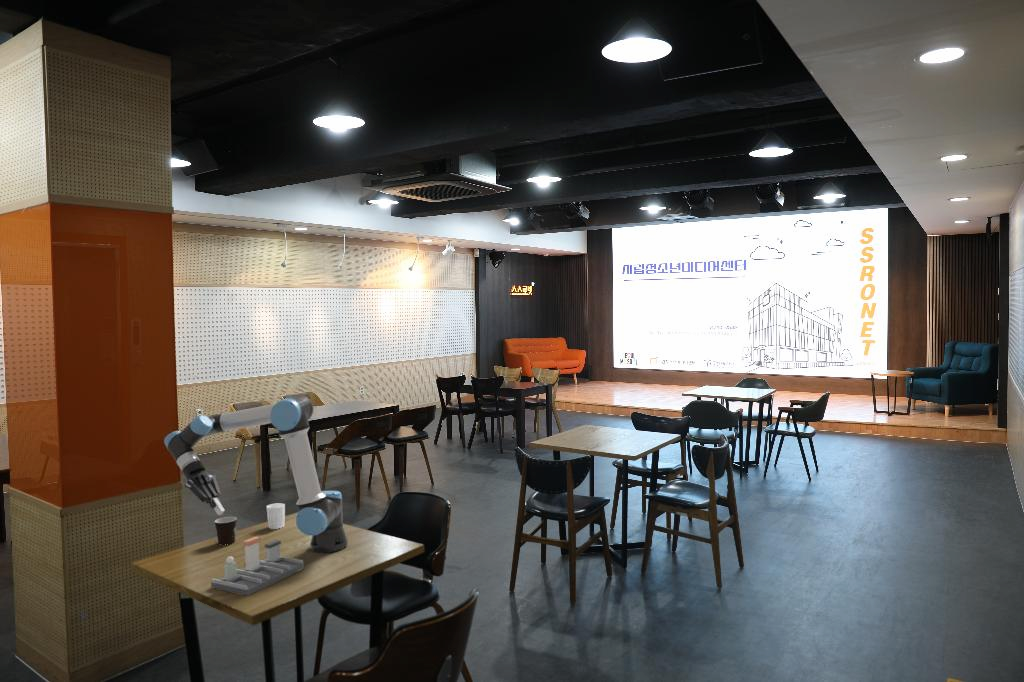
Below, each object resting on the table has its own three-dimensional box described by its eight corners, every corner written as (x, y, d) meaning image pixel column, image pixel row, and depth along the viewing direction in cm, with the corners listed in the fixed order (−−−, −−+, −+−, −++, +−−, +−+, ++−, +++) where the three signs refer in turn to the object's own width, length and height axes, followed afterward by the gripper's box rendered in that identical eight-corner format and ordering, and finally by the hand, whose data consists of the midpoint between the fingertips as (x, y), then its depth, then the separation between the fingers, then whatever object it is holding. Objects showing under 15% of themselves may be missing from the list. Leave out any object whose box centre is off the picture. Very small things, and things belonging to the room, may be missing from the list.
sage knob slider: (221, 581, 245) (220, 558, 244) (232, 576, 249) (231, 553, 249) (229, 583, 243) (228, 559, 243) (240, 578, 247) (239, 555, 247)
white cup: (271, 524, 318) (270, 503, 318) (288, 524, 318) (287, 502, 317) (264, 530, 310) (263, 508, 310) (282, 529, 310) (281, 507, 309)
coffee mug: (229, 546, 289) (228, 523, 288) (211, 546, 290) (210, 522, 290) (245, 537, 300) (244, 515, 300) (228, 537, 302) (227, 514, 301)
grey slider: (264, 562, 262) (263, 544, 262) (275, 557, 267) (274, 539, 267) (271, 564, 260) (271, 545, 260) (282, 559, 265) (282, 540, 265)
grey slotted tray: (211, 587, 246) (210, 578, 246) (269, 561, 270) (269, 553, 270) (247, 595, 238) (247, 586, 237) (304, 568, 262) (303, 560, 261)
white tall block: (243, 572, 253) (241, 541, 253) (255, 566, 258) (253, 536, 258) (250, 573, 252) (249, 542, 251) (262, 568, 257) (261, 537, 256)
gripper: (201, 468, 279) (231, 514, 272) (172, 475, 267) (202, 523, 260) (209, 456, 276) (240, 502, 269) (180, 463, 264) (211, 511, 257)
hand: (221, 513), depth 265 cm, fingers closed
